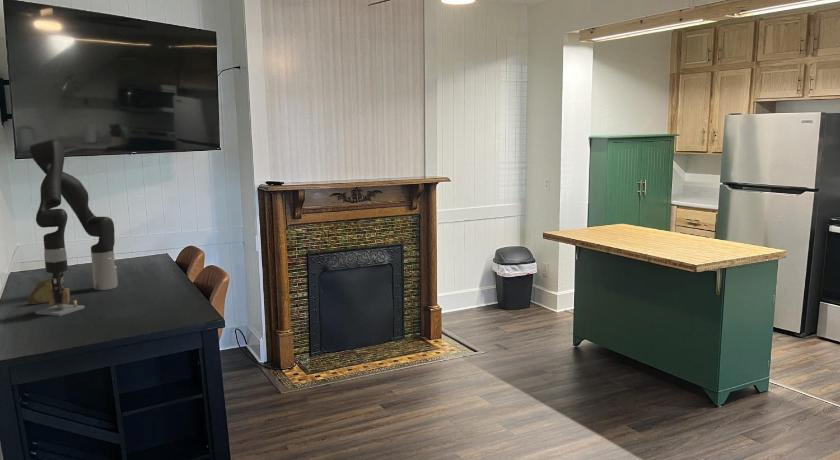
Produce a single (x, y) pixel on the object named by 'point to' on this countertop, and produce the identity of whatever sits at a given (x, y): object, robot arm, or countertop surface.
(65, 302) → the wooden square frame
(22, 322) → the countertop surface
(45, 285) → the rock
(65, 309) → the post board
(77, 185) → the robot arm
